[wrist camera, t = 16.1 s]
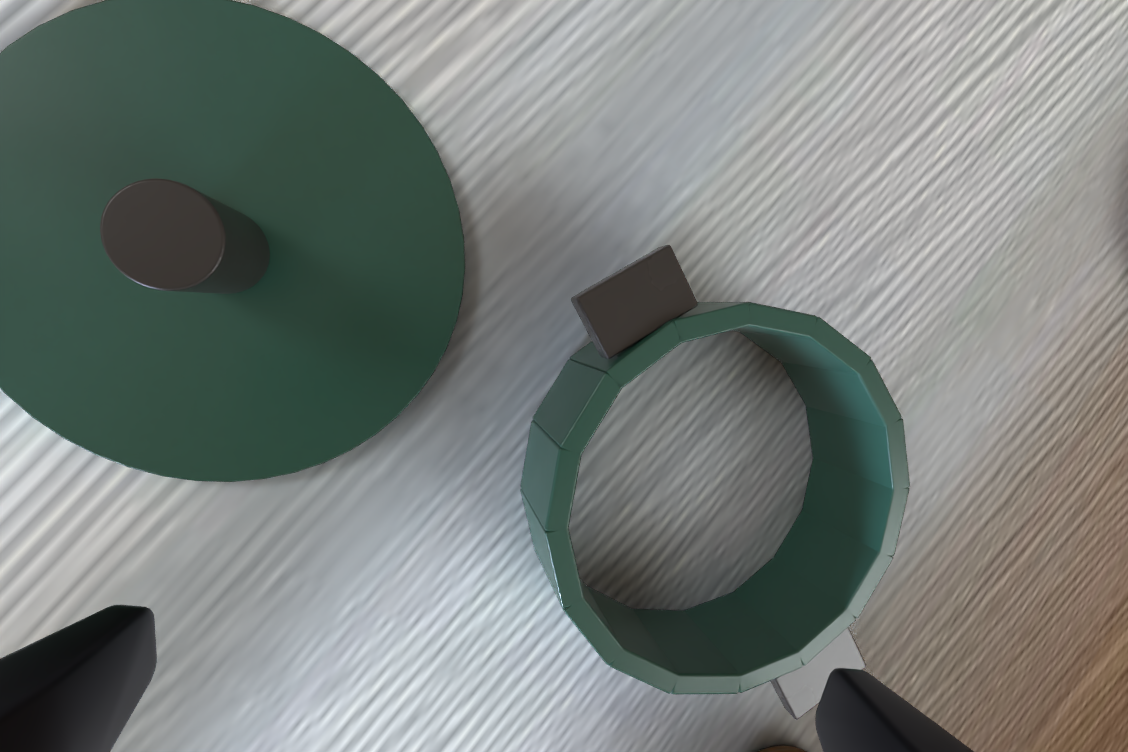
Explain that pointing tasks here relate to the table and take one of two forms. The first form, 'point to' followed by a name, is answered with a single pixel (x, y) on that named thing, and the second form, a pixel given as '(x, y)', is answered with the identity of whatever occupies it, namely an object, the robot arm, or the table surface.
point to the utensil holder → (782, 749)
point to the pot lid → (215, 240)
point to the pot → (813, 545)
